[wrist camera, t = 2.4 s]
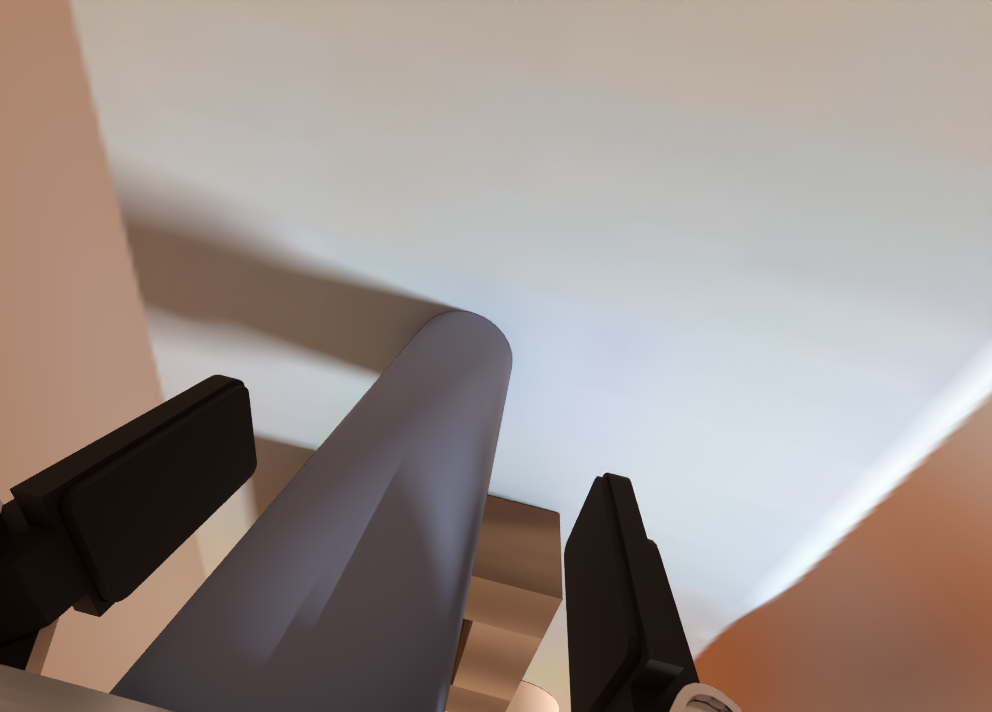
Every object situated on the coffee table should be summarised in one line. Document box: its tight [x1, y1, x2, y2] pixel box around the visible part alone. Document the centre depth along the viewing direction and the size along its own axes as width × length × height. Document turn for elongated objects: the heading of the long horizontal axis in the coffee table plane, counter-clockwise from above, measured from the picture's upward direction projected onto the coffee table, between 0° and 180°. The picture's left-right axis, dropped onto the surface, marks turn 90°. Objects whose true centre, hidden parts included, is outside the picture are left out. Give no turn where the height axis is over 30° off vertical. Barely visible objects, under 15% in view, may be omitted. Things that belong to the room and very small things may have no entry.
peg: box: [109, 311, 512, 712], centre depth 9 cm, size 4×4×12 cm
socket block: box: [445, 495, 563, 712], centre depth 19 cm, size 12×12×4 cm
